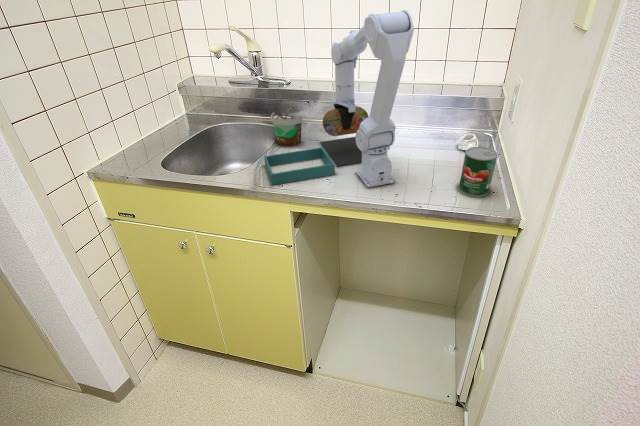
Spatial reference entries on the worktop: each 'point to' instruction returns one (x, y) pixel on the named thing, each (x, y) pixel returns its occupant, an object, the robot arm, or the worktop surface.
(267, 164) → the crate
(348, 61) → the robot arm
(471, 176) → the canned tomato
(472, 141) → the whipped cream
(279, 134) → the food container
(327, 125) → the tin
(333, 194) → the worktop surface
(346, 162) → the mat
